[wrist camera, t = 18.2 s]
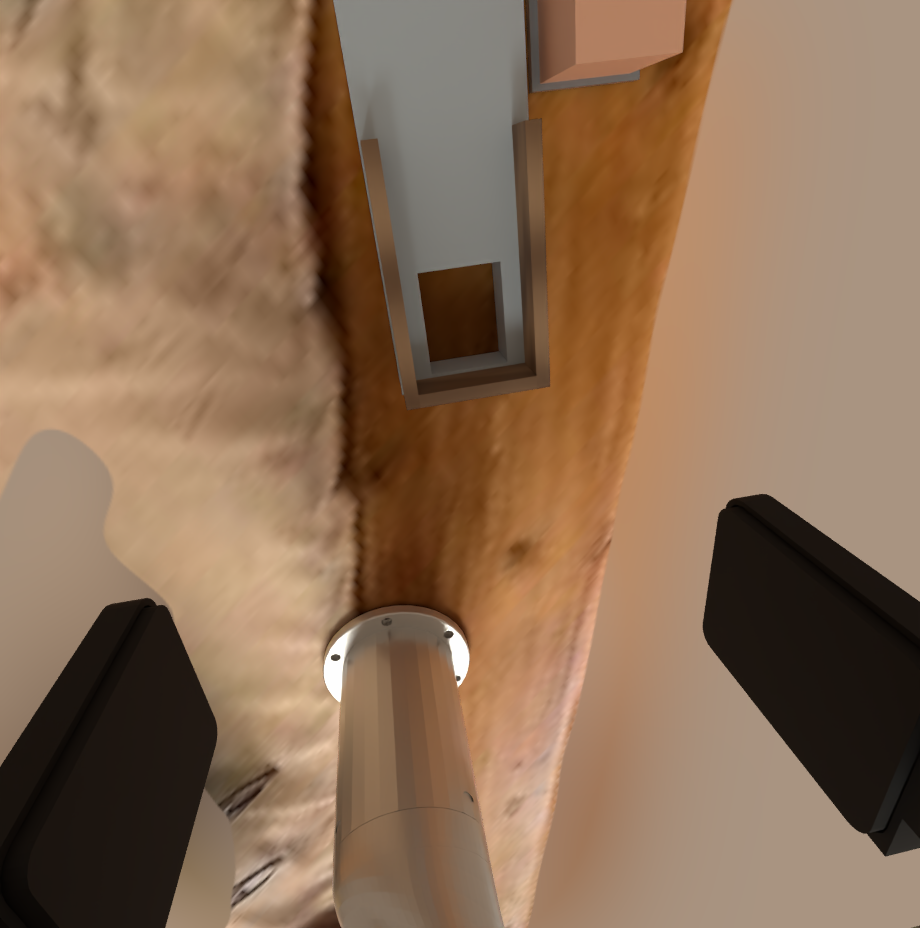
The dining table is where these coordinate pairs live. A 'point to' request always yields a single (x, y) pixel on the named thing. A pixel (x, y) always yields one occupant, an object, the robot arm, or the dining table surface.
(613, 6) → the block
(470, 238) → the deck
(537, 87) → the coaster
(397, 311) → the channel walls
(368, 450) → the dining table surface
